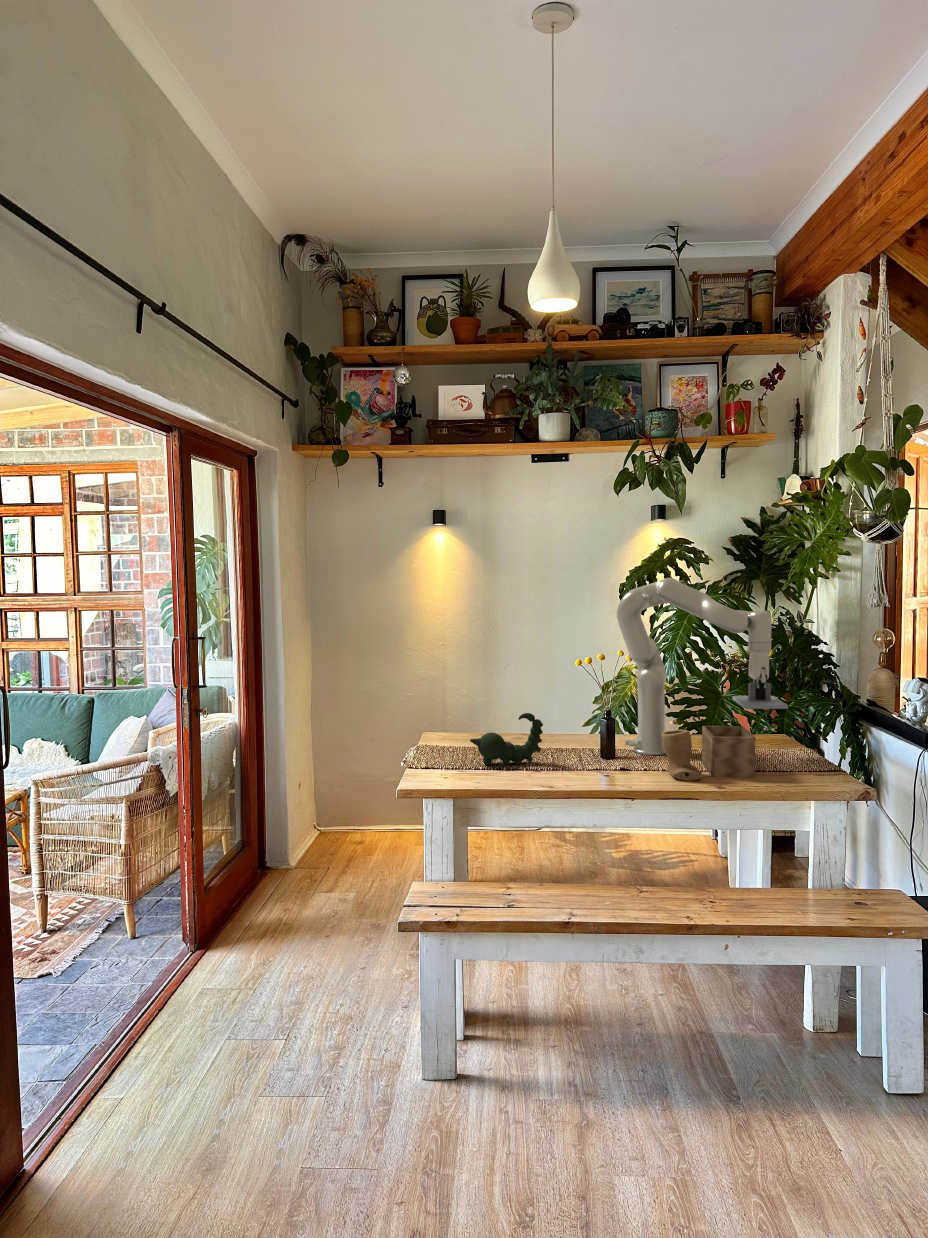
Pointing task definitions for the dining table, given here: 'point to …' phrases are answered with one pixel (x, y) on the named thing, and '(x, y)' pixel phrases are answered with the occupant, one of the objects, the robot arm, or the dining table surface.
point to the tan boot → (679, 755)
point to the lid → (752, 703)
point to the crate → (728, 751)
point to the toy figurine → (510, 745)
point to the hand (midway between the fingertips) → (759, 698)
